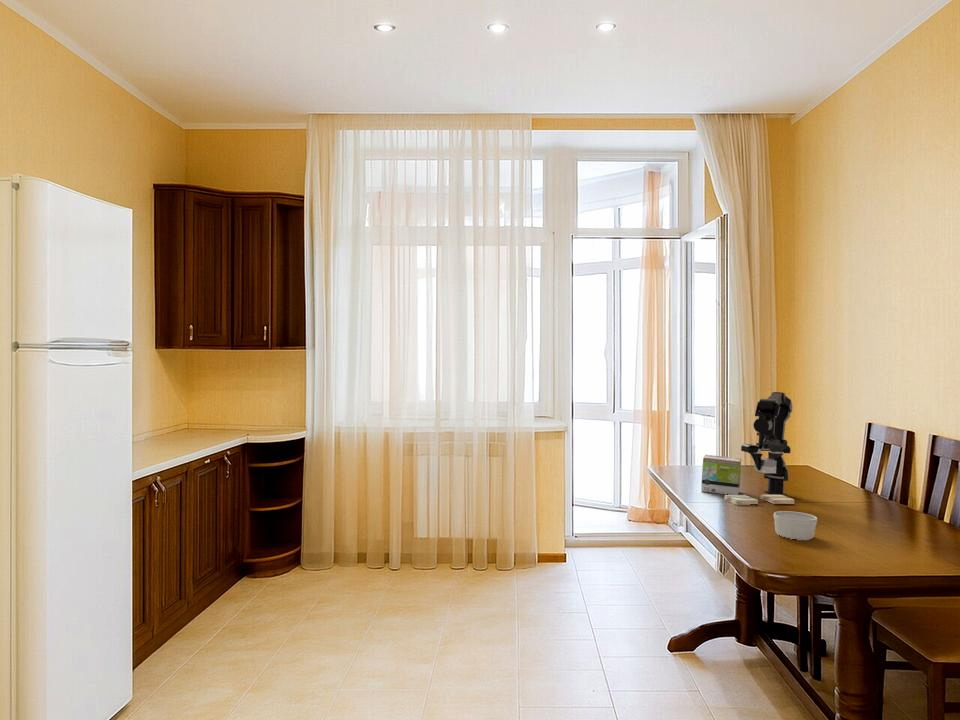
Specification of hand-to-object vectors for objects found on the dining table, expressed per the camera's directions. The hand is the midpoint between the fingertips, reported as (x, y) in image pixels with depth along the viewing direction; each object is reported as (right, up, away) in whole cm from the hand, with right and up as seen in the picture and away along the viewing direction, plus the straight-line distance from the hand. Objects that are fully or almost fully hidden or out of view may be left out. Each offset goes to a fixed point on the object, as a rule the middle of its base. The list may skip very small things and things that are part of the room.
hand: (764, 470), depth 285 cm
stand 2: (+6, -13, +2) cm, 14 cm away
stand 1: (-10, -13, -1) cm, 16 cm away
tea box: (-12, -12, +18) cm, 25 cm away
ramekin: (-10, -14, -49) cm, 52 cm away
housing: (0, -1, 0) cm, 1 cm away
